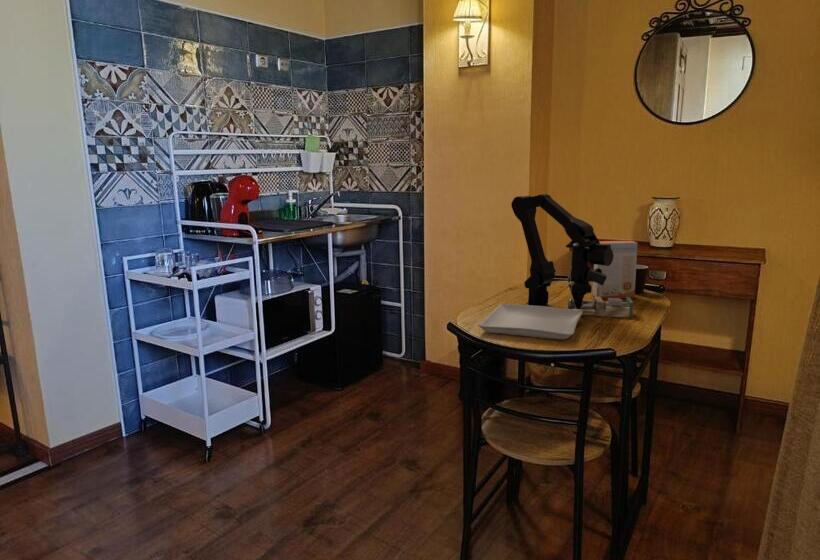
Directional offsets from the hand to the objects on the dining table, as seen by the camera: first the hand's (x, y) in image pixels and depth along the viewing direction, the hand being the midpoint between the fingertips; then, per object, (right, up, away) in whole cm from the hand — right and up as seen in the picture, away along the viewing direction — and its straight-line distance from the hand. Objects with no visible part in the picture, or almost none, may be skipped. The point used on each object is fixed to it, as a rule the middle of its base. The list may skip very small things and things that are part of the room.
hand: (577, 307), depth 192 cm
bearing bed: (+7, -2, -1) cm, 7 cm away
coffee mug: (+30, +5, +30) cm, 43 cm away
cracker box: (+19, +3, +22) cm, 29 cm away
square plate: (-18, -6, -15) cm, 24 cm away
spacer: (+12, -1, -2) cm, 12 cm away
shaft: (+3, -2, 0) cm, 4 cm away
